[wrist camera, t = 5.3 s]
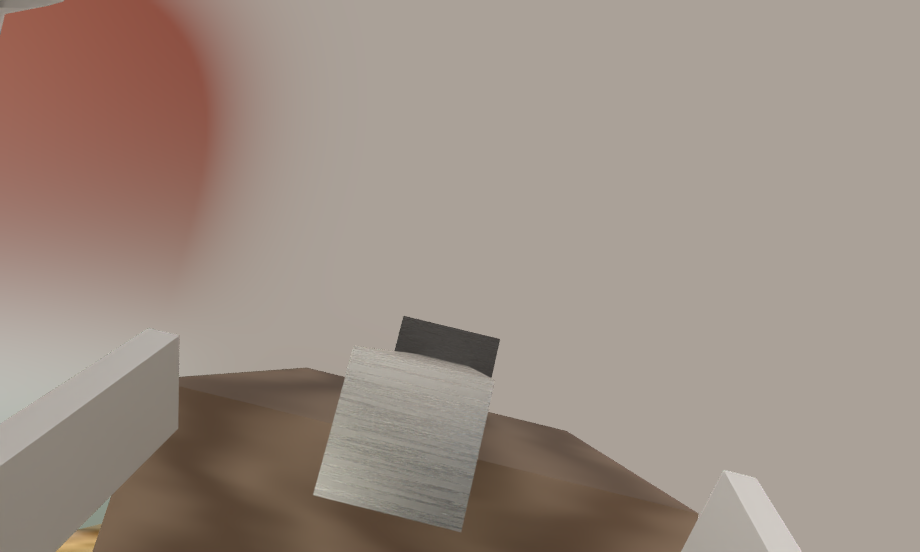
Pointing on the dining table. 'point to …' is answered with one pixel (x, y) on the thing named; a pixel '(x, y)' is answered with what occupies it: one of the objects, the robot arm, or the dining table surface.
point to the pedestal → (355, 528)
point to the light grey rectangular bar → (411, 425)
